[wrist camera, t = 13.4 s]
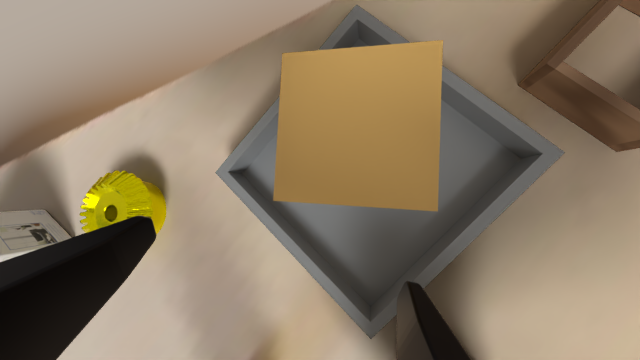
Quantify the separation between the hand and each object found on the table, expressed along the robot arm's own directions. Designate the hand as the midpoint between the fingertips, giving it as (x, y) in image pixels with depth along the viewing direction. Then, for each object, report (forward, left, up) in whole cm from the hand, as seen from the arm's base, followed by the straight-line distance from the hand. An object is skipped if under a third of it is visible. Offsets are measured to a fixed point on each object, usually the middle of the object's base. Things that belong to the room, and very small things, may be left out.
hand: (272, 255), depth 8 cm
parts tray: (+1, -5, -12) cm, 13 cm away
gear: (+15, +14, -13) cm, 24 cm away
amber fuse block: (+1, -5, -12) cm, 13 cm away
